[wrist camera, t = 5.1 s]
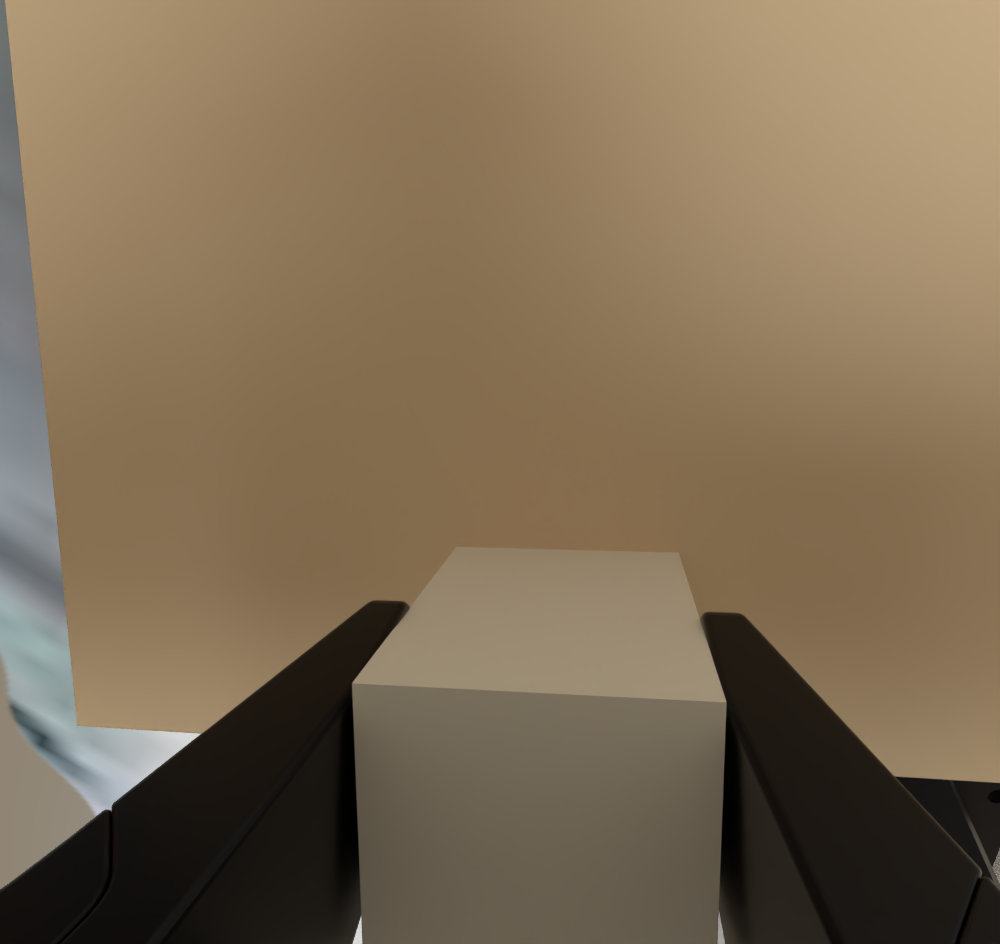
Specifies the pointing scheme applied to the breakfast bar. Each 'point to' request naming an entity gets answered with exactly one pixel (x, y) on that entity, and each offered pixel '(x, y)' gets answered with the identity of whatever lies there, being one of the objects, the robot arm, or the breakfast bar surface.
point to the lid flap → (525, 403)
